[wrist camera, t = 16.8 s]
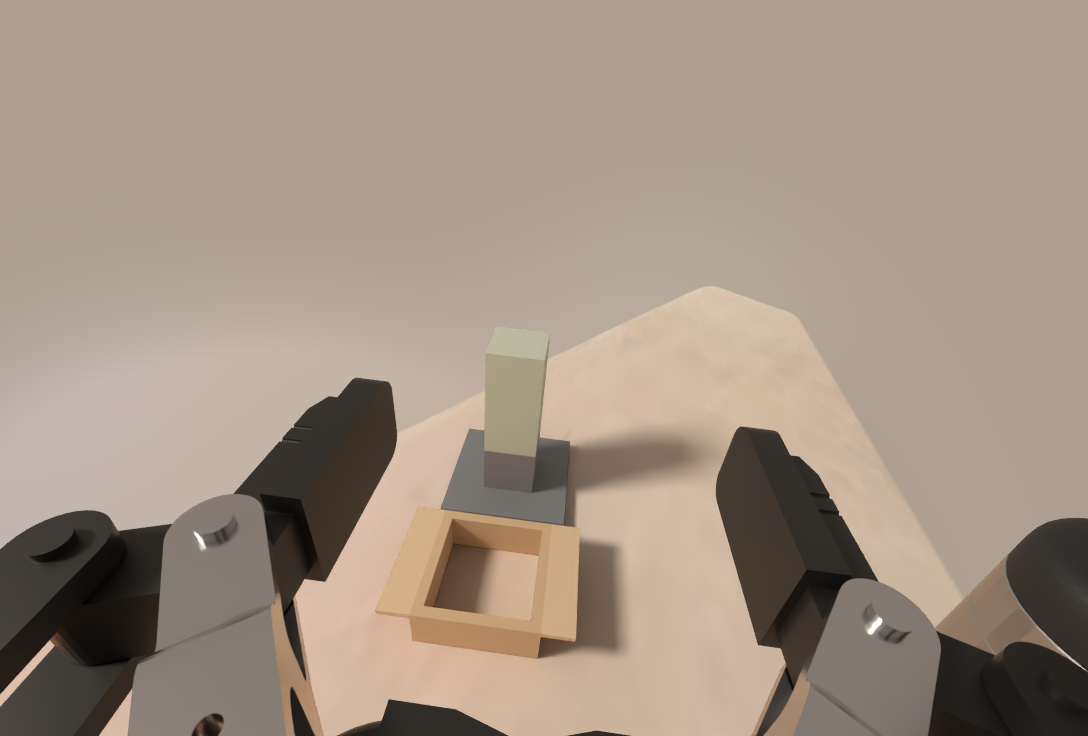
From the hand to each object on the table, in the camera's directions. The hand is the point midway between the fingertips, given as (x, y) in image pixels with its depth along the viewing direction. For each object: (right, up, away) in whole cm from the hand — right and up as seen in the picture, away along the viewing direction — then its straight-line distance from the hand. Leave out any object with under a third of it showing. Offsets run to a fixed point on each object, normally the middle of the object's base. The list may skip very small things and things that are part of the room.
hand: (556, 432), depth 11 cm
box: (-4, -10, +38) cm, 40 cm away
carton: (-5, -17, +28) cm, 33 cm away
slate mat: (-4, -10, +39) cm, 41 cm away
